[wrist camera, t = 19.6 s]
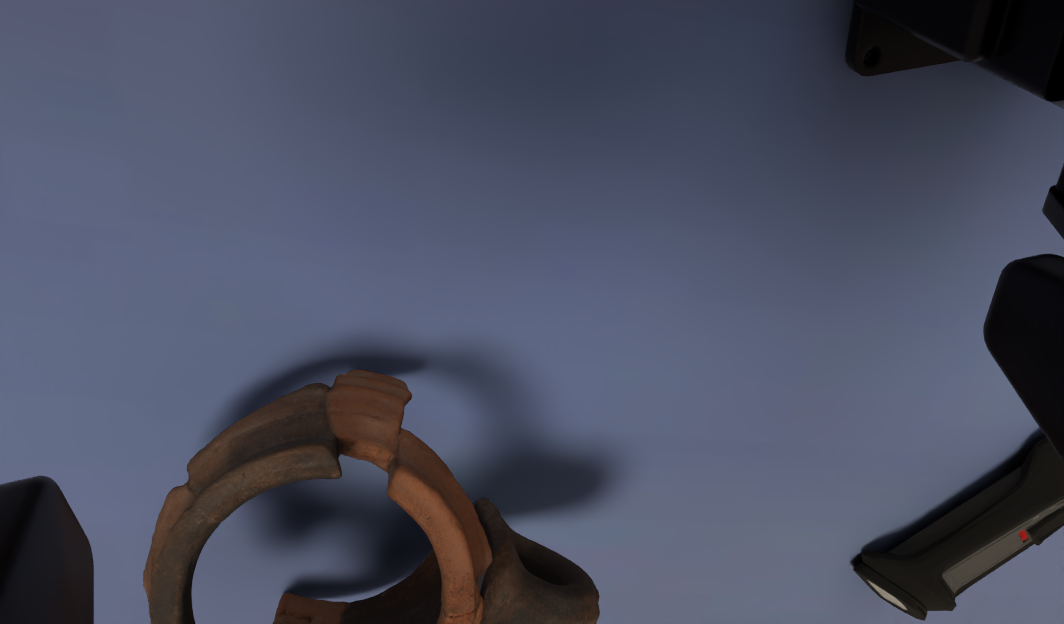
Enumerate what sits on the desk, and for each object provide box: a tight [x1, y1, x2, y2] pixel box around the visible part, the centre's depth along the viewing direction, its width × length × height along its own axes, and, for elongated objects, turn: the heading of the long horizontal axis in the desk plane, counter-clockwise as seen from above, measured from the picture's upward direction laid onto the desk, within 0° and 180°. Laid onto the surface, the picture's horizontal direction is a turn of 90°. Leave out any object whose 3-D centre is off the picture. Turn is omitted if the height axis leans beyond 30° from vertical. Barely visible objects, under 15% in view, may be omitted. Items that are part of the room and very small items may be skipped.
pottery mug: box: [143, 369, 600, 624], centre depth 24 cm, size 12×10×8 cm
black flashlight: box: [850, 437, 1064, 621], centre depth 34 cm, size 4×16×3 cm, turn 127°
